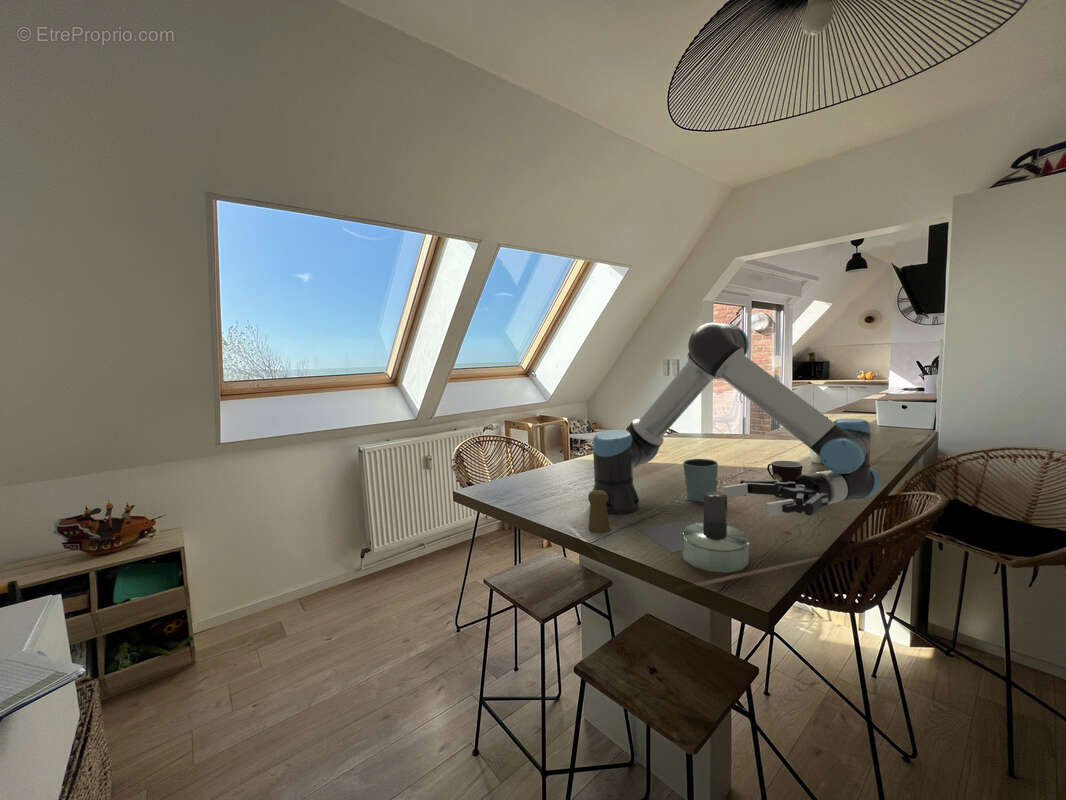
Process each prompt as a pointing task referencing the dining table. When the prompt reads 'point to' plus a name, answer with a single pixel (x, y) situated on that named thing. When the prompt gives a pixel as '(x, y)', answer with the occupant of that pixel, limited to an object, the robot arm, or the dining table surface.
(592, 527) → the cork
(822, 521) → the dining table surface
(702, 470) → the teal cup
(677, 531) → the mat
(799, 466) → the coffee mug
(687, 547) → the cover
